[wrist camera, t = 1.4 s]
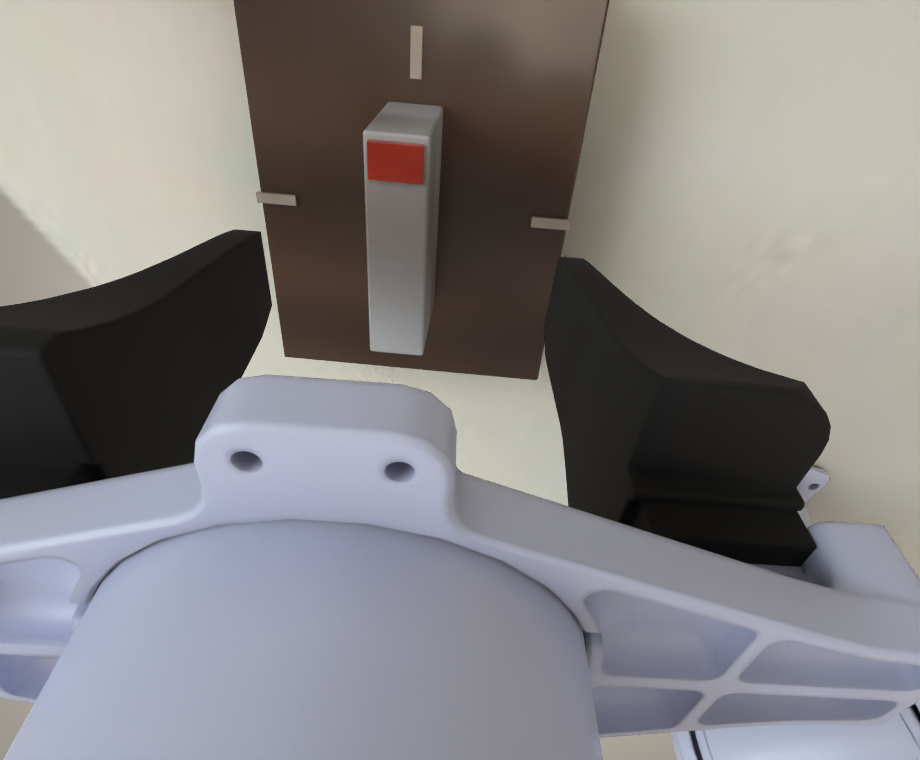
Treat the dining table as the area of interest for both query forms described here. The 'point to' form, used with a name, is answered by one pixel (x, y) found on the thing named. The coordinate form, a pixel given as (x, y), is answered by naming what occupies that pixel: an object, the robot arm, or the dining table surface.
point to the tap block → (462, 163)
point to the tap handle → (402, 223)
